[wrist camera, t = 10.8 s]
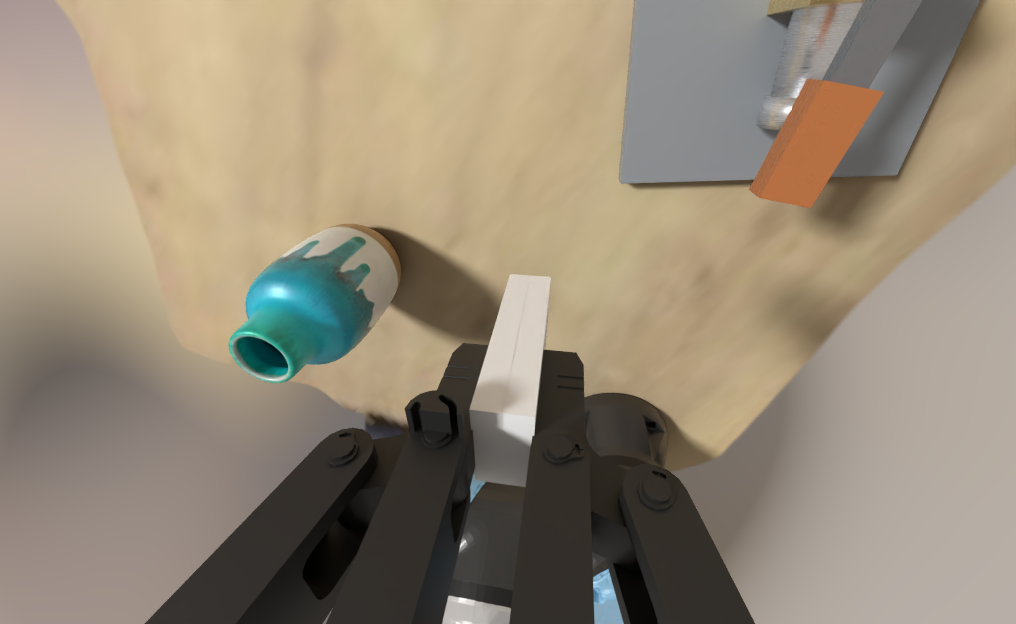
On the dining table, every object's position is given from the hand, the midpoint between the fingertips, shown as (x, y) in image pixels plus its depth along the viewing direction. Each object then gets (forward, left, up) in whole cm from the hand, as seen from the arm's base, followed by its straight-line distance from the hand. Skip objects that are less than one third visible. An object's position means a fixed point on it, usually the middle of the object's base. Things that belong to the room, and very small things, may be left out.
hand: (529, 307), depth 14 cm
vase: (-10, +22, -27) cm, 36 cm away
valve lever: (+7, -17, -16) cm, 24 cm away
